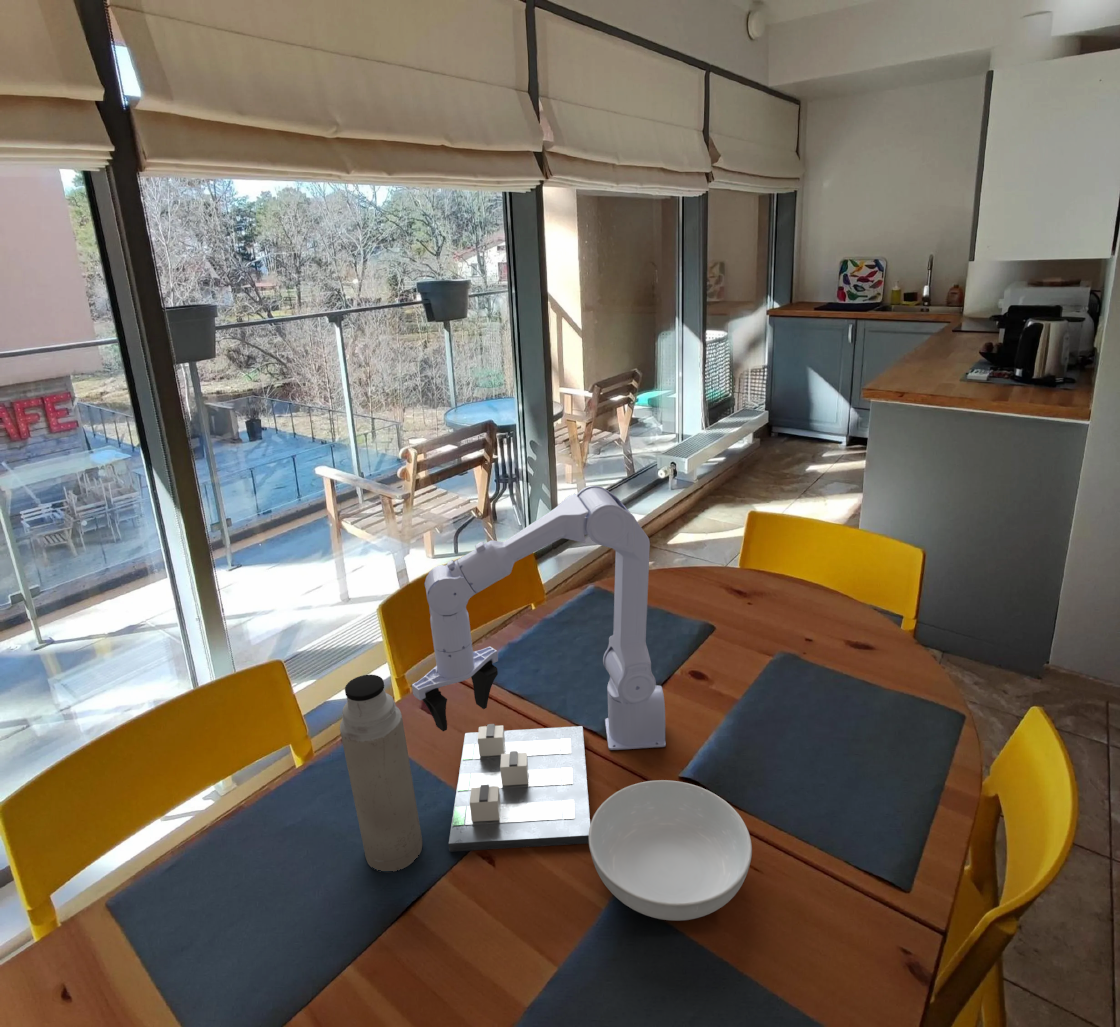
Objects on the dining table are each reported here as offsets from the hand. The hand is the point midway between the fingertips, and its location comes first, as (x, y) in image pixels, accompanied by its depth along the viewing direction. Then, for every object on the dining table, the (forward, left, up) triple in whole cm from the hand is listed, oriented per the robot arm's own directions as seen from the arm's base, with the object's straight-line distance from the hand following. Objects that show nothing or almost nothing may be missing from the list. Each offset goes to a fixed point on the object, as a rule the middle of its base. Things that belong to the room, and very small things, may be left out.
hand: (462, 716), depth 117 cm
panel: (-9, +5, -10) cm, 14 cm away
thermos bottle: (+9, +16, -10) cm, 21 cm away
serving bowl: (-29, +23, -10) cm, 39 cm away
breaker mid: (-8, +5, -8) cm, 13 cm away
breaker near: (-4, +12, -8) cm, 15 cm away
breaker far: (-4, -1, -8) cm, 9 cm away
